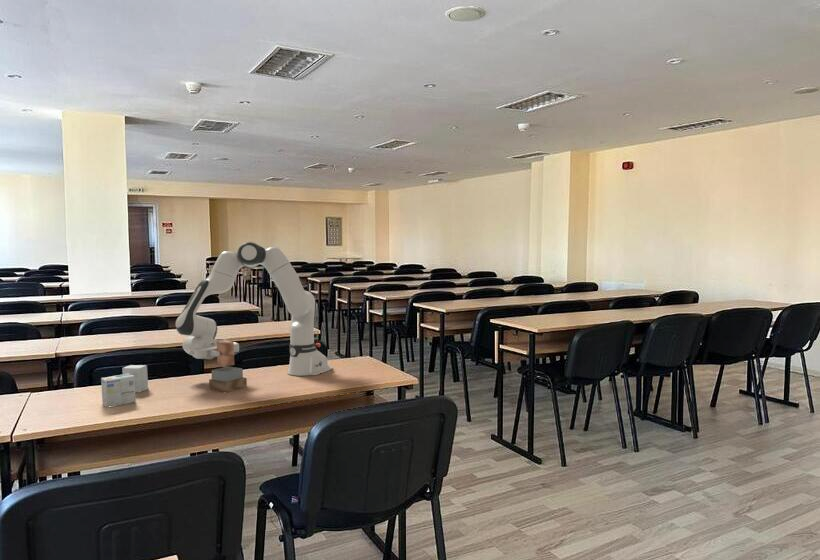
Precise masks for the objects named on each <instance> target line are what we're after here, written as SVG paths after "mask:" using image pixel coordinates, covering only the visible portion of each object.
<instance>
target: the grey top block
mask: <svg viewBox="0 0 820 560" xmlns="http://www.w3.org/2000/svg"><path fill="white" fill-rule="evenodd" d="M243 373H244V371H243V368H241V367H233V366H226V367H223V366H222V367H220V368H215V369H212V370H211V379H212V380H217V381H223V382H229V381H233V380H236V379H240V378H243V377H244V375H243Z"/></svg>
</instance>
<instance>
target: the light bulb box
mask: <svg viewBox="0 0 820 560" xmlns="http://www.w3.org/2000/svg"><path fill="white" fill-rule="evenodd" d="M100 383H101V385H100V386H101V398H102V399H101V401H102V405H103V404H104V405H105V406H106V408H107V407H108V408H110V407H109V406H113V407H118V406H117V405H119V406H122V404H124V405H127V404H133V403H132V402H134V403H136V402H137V400H136V392H135V378H134V375H131V374H129V373H128V374H123V373H122V374H119V375H118V374H117V375H112V376H107V377H106V376H105V377H101V378H100ZM104 405H103V406H104ZM105 406H104V407H105Z"/></svg>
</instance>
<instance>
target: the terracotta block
mask: <svg viewBox="0 0 820 560" xmlns="http://www.w3.org/2000/svg"><path fill="white" fill-rule="evenodd" d="M234 342H235V341H231V340H227V341H221V342H217V351H221V352H222V353H221V354H222V355H221V356H216V358H217V359H216V365H217V366H219V367H222V368H223V367H227V366H228V367H232V366H235V353H234Z"/></svg>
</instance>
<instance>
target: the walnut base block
mask: <svg viewBox="0 0 820 560" xmlns="http://www.w3.org/2000/svg"><path fill="white" fill-rule="evenodd" d="M247 383H248V380H247V377H244V376H243V378H240V379H236V380H233V381H229V382H223V381H217V380H212V378H210V379H208V385H209V386H208V387H209V388H210V390H212V389H214V390H213V391H216V390H217V391H216V392H220V391H221V392H220V393H223V392H226V393H230V392H233V390H234V391H237V389H238V390H241V389H240V388H242V389H245V388H244V387H246V388H247V387H248V386H247V385H248V384H247ZM229 391H230V392H229Z"/></svg>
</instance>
